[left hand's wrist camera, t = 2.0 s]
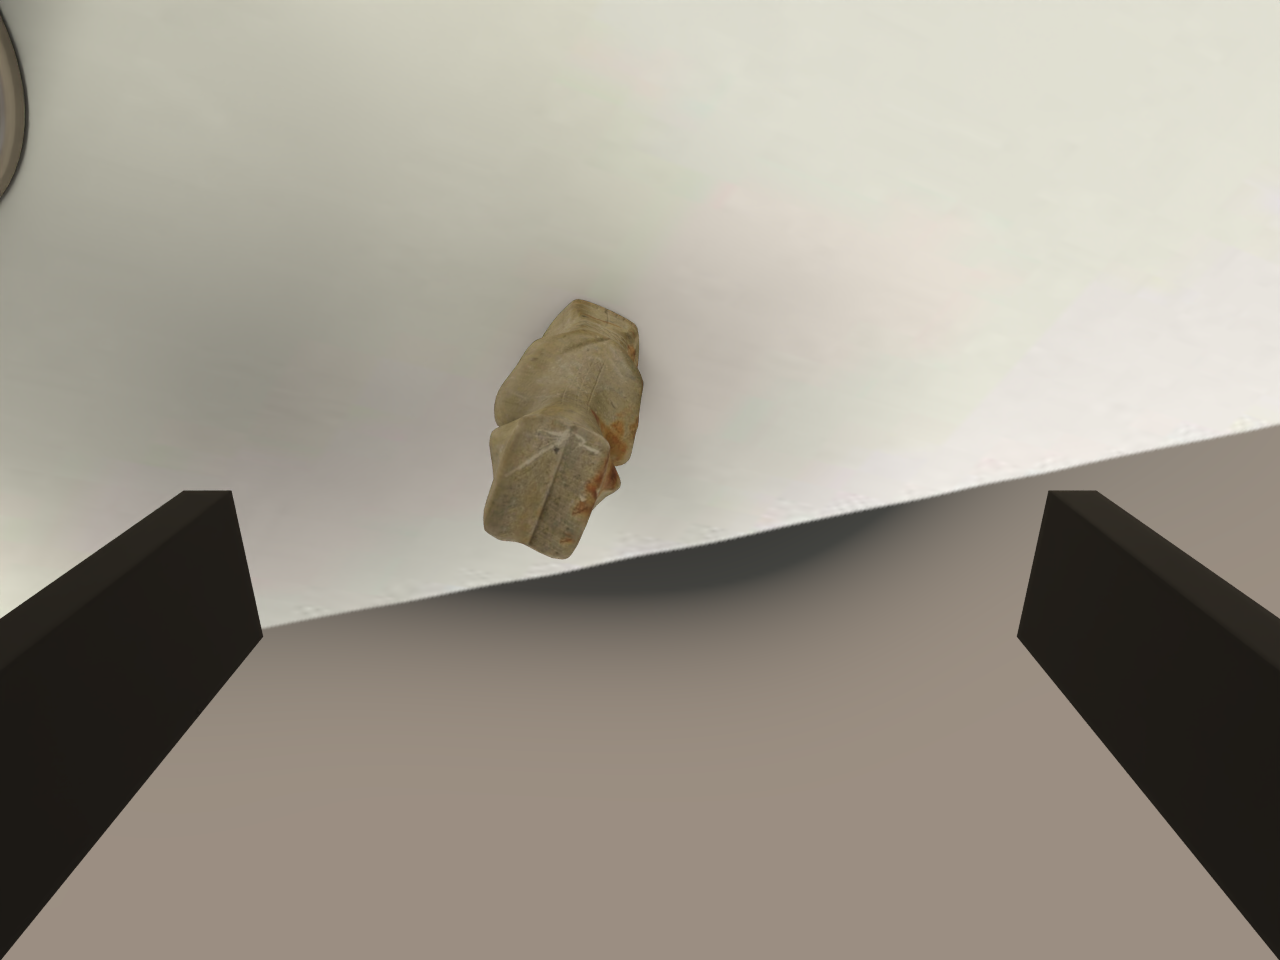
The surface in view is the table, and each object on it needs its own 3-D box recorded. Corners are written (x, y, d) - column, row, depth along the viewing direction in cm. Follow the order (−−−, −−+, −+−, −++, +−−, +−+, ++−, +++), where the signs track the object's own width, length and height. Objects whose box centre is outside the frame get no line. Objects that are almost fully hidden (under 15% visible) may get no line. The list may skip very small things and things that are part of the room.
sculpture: (502, 402, 40) (428, 527, 26) (560, 274, 37) (512, 335, 23) (604, 449, 41) (585, 594, 27) (666, 328, 38) (681, 417, 24)
